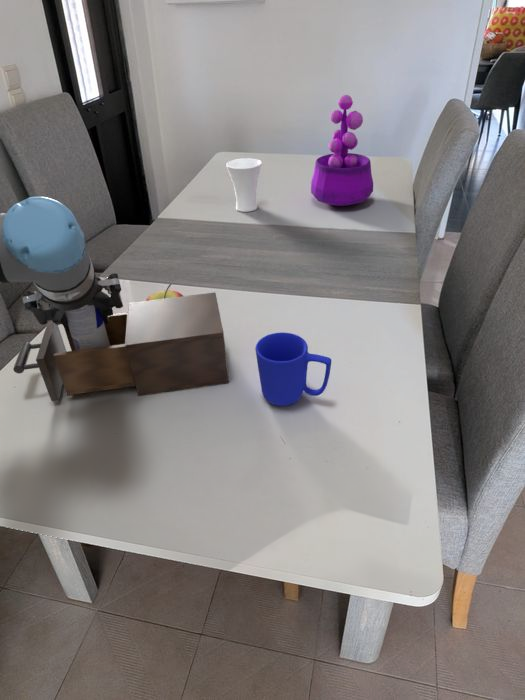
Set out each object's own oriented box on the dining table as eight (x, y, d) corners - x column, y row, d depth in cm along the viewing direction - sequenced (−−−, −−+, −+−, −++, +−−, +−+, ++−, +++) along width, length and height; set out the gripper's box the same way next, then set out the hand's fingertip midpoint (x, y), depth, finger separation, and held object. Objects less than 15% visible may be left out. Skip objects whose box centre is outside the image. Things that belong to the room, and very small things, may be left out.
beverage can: (116, 357, 89) (96, 280, 81) (85, 370, 87) (60, 291, 78) (105, 343, 93) (84, 268, 84) (75, 354, 91) (50, 278, 82)
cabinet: (138, 395, 88) (125, 345, 82) (140, 350, 99) (129, 302, 93) (228, 382, 90) (223, 332, 84) (220, 339, 101) (215, 292, 95)
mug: (322, 421, 81) (324, 371, 75) (251, 405, 85) (247, 356, 79) (335, 389, 87) (337, 340, 81) (268, 375, 91) (265, 328, 85)
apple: (194, 334, 102) (188, 290, 97) (152, 344, 100) (143, 300, 95) (185, 314, 109) (178, 272, 103) (145, 323, 107) (136, 280, 101)
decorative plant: (373, 192, 164) (382, 88, 147) (370, 214, 150) (379, 101, 132) (315, 190, 168) (316, 89, 151) (305, 211, 154) (306, 101, 136)
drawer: (20, 406, 86) (2, 364, 81) (34, 362, 96) (19, 322, 91) (139, 389, 88) (128, 347, 83) (140, 348, 98) (131, 308, 93)
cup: (254, 216, 152) (251, 169, 144) (223, 212, 156) (219, 166, 148) (269, 204, 160) (267, 159, 152) (239, 200, 164) (236, 156, 156)
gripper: (-6, 318, 65) (35, 353, 87) (142, 288, 69) (145, 328, 92) (-18, 262, 66) (25, 311, 88) (129, 236, 70) (134, 289, 93)
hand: (86, 320), depth 90 cm, fingers closed on beverage can, 6 cm apart
